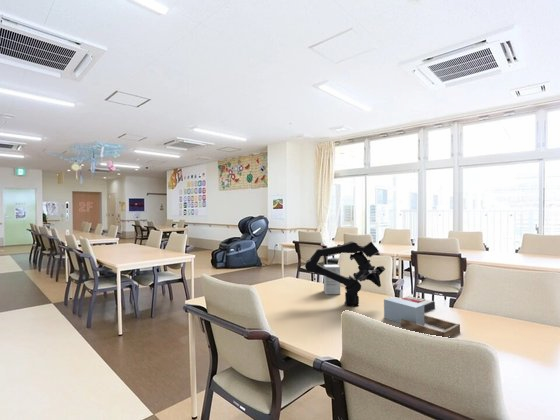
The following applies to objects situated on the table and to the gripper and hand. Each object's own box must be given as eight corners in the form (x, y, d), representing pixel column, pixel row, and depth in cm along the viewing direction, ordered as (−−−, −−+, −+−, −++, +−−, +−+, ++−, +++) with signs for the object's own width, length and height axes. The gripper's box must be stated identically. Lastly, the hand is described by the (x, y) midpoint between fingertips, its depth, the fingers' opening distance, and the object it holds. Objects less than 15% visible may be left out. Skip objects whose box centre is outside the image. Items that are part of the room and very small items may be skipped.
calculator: (408, 295, 171) (434, 300, 159) (408, 303, 171) (435, 308, 159) (396, 299, 165) (423, 304, 153) (397, 307, 164) (424, 313, 152)
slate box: (384, 318, 146) (383, 299, 146) (392, 314, 150) (392, 296, 150) (416, 328, 133) (415, 307, 133) (424, 324, 137) (424, 304, 137)
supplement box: (340, 294, 186) (340, 267, 186) (325, 294, 186) (325, 267, 186) (337, 290, 196) (337, 264, 196) (323, 290, 196) (323, 264, 196)
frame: (401, 326, 135) (401, 319, 135) (417, 319, 143) (417, 312, 143) (443, 340, 120) (443, 332, 120) (460, 331, 129) (459, 324, 129)
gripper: (365, 268, 175) (381, 292, 166) (342, 272, 164) (359, 298, 155) (376, 256, 168) (394, 280, 159) (354, 260, 157) (372, 286, 148)
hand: (380, 286), depth 156 cm, fingers closed
